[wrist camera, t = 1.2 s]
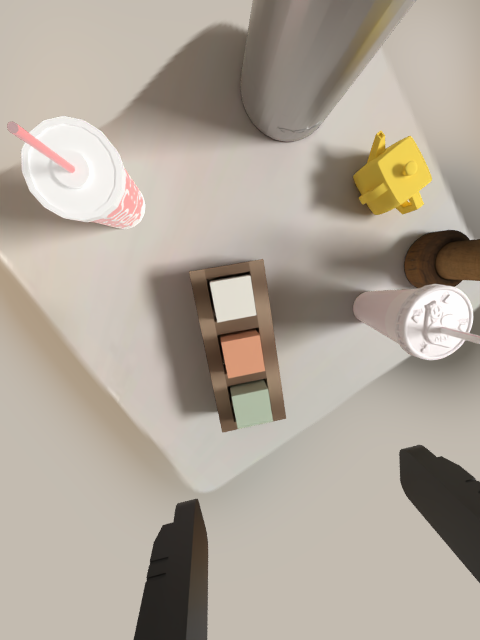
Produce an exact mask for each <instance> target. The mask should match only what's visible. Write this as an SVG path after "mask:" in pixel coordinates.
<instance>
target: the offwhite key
mask: <svg viewBox="0 0 480 640" xmlns="http://www.w3.org/2000/svg"><path fill="white" fill-rule="evenodd" d="M210 287H211V292H212V297H213V302H214V307H215V313H216V318H217V323H218V322H223V321H228V320H234V319H239V318H244V317H250V316H255V315H256V308H255V302H254V295H253V289H252V283H251V276H250V275H241V276H235V277H229V278H224V279H218V280H212V281H210Z"/></svg>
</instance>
